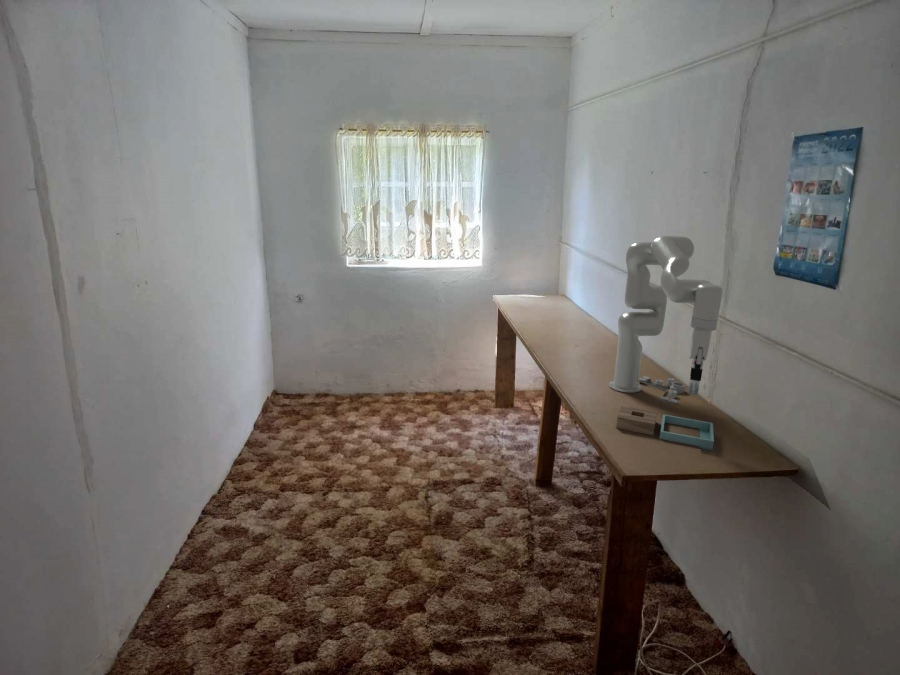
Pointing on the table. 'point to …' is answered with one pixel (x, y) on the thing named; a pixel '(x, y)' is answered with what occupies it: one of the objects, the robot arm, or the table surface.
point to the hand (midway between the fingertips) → (695, 378)
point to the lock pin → (693, 385)
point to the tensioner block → (636, 419)
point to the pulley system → (674, 387)
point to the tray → (703, 441)
